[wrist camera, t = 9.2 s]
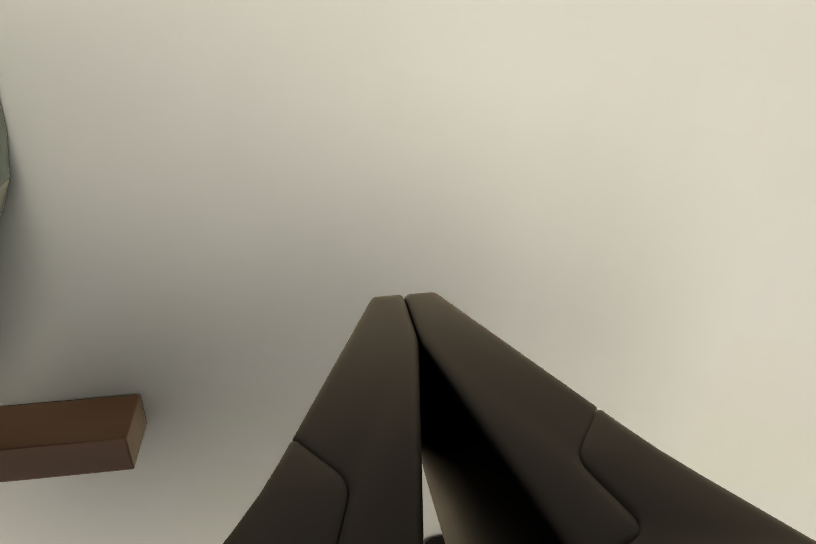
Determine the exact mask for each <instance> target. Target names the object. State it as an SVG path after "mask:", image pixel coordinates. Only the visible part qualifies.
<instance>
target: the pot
mask: <svg viewBox="0 0 816 544" xmlns="http://www.w3.org/2000/svg"><path fill="white" fill-rule="evenodd" d="M9 180H10V172H9V155H8V141H7V131H6V126H5V122H4V117H3V113H2V108H1V103H0V220H1V216H2V212H3V208H4V204H5V201H6V197H7V186H8V183H9Z"/></svg>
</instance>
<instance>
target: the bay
mask: <svg viewBox="0 0 816 544" xmlns="http://www.w3.org/2000/svg"><path fill="white" fill-rule="evenodd" d="M146 424H147V422H146V418H145V414H144V410H143V406H142V402H141V398H140V395H126V396H115V397H103V398H92V399H81V400H69V401H58V402H46V403H35V404H24V405H12V406H1V407H0V482H8V481H18V480H28V479H38V478H49V477H59V476H69V475H79V474H89V473H99V472H109V471H119V470H129V469H134V467H135V463H136V460H137V456H138V453H139V449H140V446H141V442H142V439H143V435H144V432H145V428H146Z"/></svg>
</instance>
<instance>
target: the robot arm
mask: <svg viewBox="0 0 816 544" xmlns="http://www.w3.org/2000/svg"><path fill="white" fill-rule="evenodd" d="M422 464H423V468H424V472H425V476H426V479H427V483H428V486H429V490H430V493H431V496H432V500H433V503H434V507H435V510H436V513H437V517H438V520H439V524H440V527H441V530H442V534H443V537H442V538H435V539H431V540H430V541H428V542H427V543H426V544H816V541H814V540H813V539H811V538H809V537H807V536H805V535H804V534H802V533H800V532H798V531H797V530H795V529H793V528H792V527H790V526H788V525H786V524H785V523H783V522H781V521H779V520H778V519H776V518H774V517H773V516H771V515H769V514H767V513H766V512H764V511H762V510H760V509H759V508H757V507H755V506H754V505H752V504H750V503H748V502H747V501H745V500H743V499H741V498H740V497H738V496H736V495H735V494H733V493H731V492H729V491H728V490H726V489H724V488H722V487H721V486H719V485H717V484H716V483H714V482H712V481H710V480H709V479H707V478H705V477H703V476H702V475H700V474H698V473H697V472H695V471H693V470H692V469H690V468H688V467H687V466H685V465H684V464H682V463H680V462H679V461H677V460H675V459H674V458H672V457H670V456H669V455H667V454H665V453H664V452H662V451H660V450H659V449H657V448H656V447H654V446H653V445H651V444H650V443H648V442H647V441H645V440H644V439H642V438H641V437H639V436H638V435H636V434H635V433H633V432H632V431H630V430H629V429H627V428H626V427H624V426H623V425H622V424H620V423H619V422H617V421H616V420H614V419H613V418H612V417H610V416H609V415H607V414H606V413H605V412H603V411H602V410H598V411H597V408H596V406H594V405H593V404H592V403H590V402H589V401H587V400H586V399H584V398H583V397H582V396H580V395H579V394H577V393H576V392H575V391H573V390H572V389H570V388H569V387H568V386H566V385H565V384H563V383H562V382H561V381H559V380H558V379H556V378H555V377H553V376H552V375H551V374H549V373H548V372H546V371H545V370H544V369H542V368H541V367H539V366H538V365H537V364H535V363H534V362H532V361H531V360H529V359H528V358H527V357H525V356H524V355H522V354H521V353H520V352H518V351H517V350H515V349H514V348H513V347H511V346H510V345H508V344H507V343H506V342H504V341H503V340H501V339H500V338H498V337H497V336H496V335H494V334H493V333H491V332H490V331H489V330H487V329H486V328H484V327H483V326H482V325H480V324H479V323H477V322H476V321H474V320H473V319H472V318H470V317H469V316H467V315H466V314H465V313H463V312H462V311H460V310H459V309H458V308H456V307H455V306H453V305H452V304H451V303H449V302H448V301H446V300H445V299H443V298H442V297H441V296H439V295H438V294H436V293H432V292H431V293H418V294H409V295H407V296H406V297H405V299H404V298H403V297H402V296H400V295H394V296H381V297H374V298H373V299H372V300H371V301H370V303H369V305H368V306H367V308H366V310H365V312H364V313H363V315H362V317H361V319H360V321H359V322H358V324H357V326H356V328H355V329H354V331H353V333H352V335H351V336H350V338H349V340H348V342H347V344H346V345H345V347H344V349H343V351H342V352H341V354H340V356H339V358H338V360H337V361H336V363H335V365H334V367H333V368H332V370H331V372H330V374H329V376H328V377H327V379H326V381H325V383H324V384H323V386H322V388H321V390H320V391H319V393H318V395H317V397H316V399H315V400H314V402H313V404H312V406H311V407H310V409H309V411H308V413H307V415H306V416H305V418H304V420H303V422H302V423H301V425H300V427H299V429H298V431H297V432H296V434H295V436H294V438H293V442H291V443H290V444H289V446H288V448H287V449H286V451H285V453H284V455H283V457H282V458H281V460H280V462H279V464H278V465H277V467H276V469H275V470H274V472H273V473H272V475H271V477H270V478H269V480H268V482H267V483H266V485H265V486H264V488H263V490H262V491H261V493H260V494H259V496H258V497H257V499H256V500H255V501H254V503H253V504H252V505H251V507H250V508H249V510H248V511H247V512H246V514H245V515H244V516H243V518H242V519H241V521H240V522H239V523H238V525H237V526H236V527H235V529H234V530H233V531H232V533H231V534H230V535H229V537H228V538H227V539H226V540H225V542H224V543H223V544H424V543H423V498H422Z"/></svg>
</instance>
